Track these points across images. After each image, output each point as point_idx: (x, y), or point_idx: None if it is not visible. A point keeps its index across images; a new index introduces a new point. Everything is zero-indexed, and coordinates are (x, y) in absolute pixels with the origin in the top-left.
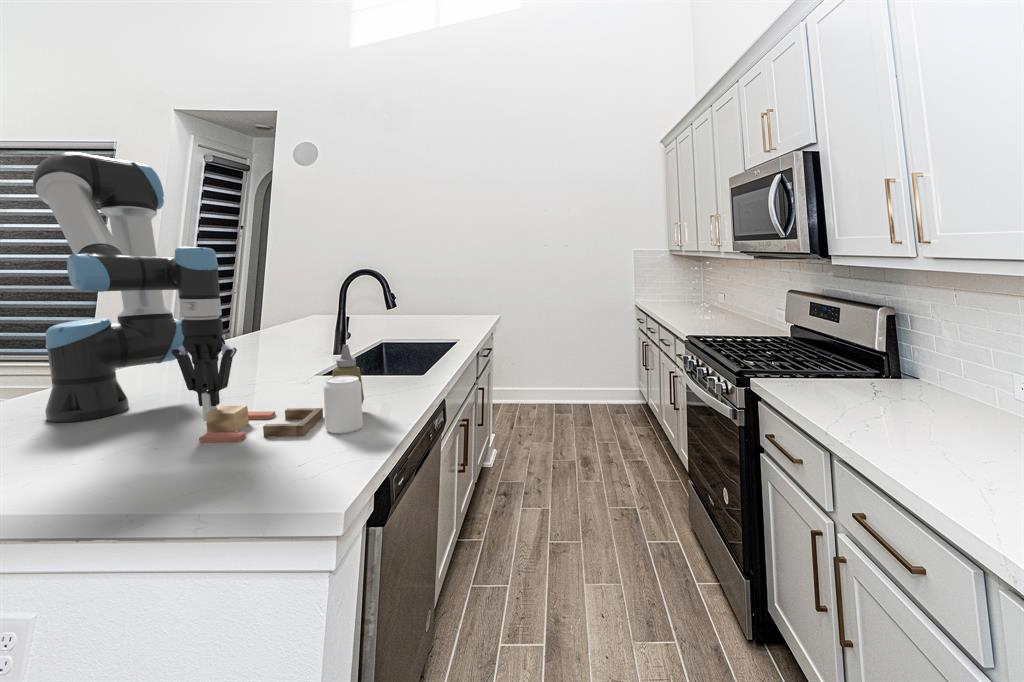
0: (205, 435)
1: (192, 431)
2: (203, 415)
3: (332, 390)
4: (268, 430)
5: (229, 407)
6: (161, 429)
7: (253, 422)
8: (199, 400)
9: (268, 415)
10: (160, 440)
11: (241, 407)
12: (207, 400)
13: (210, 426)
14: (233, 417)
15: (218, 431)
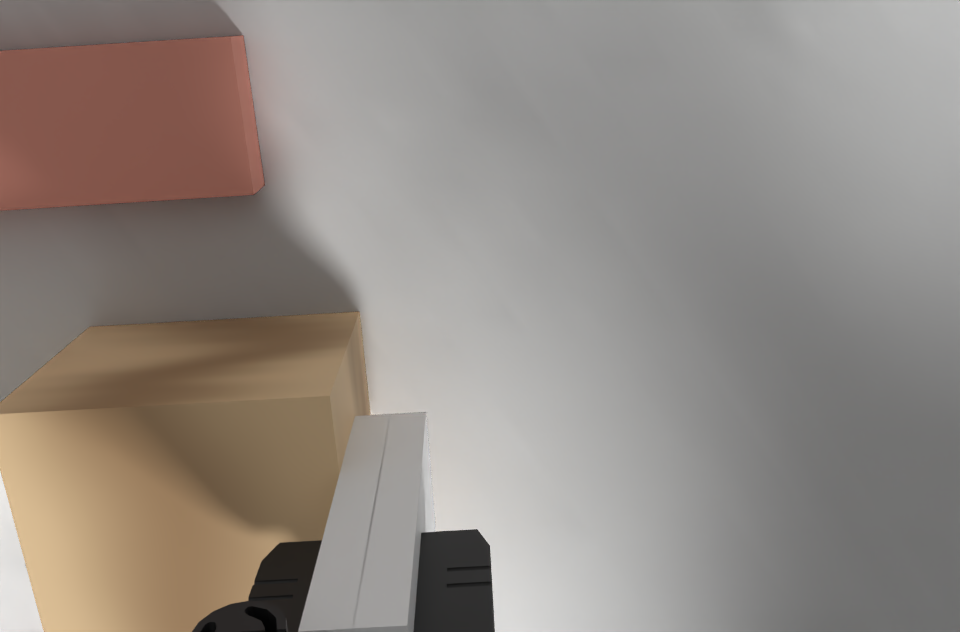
0: (210, 109)
1: (528, 338)
2: (422, 445)
3: None
4: None
5: None
6: (862, 383)
7: None
8: (474, 578)
9: None
10: (680, 83)
11: (71, 624)
12: (337, 561)
13: (315, 337)
14: (21, 392)
15: (250, 321)
